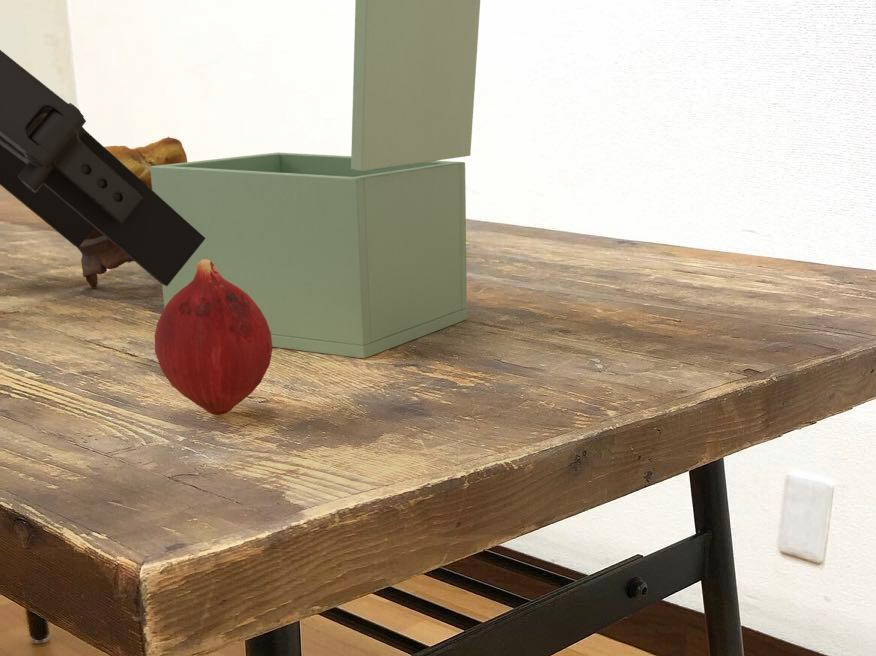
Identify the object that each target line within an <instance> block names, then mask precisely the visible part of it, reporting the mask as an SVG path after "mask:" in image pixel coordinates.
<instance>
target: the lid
mask: <svg viewBox="0 0 876 656" xmlns="http://www.w3.org/2000/svg"><path fill="white" fill-rule="evenodd" d="M354 3H355V6H354V37H353V38H354V42H353V44H354V45H353V78H352V79H353V80H352V81H353V82H352V119H351V152H350V154H351V155H350V156H351V169H352V170H356V171H368V170H374V169H381V168H388V167H395V166H402V165H409V164H416V163H423V162H430V161H445V160H449V159H451V160H452V159H456V158H457V159H458V158H464V157H470V156H471V154H472V153H471V151H472V136H473V135H472V134H473V123H474V122H473V120H474V106H475V105H474V103H475V91H476V73H477V71H476V70H477V60H478V44H479V28H480V27H479V26H480V13H481V0H355V2H354Z"/></svg>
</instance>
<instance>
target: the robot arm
mask: <svg viewBox="0 0 876 656" xmlns="http://www.w3.org/2000/svg"><path fill="white" fill-rule="evenodd" d="M86 122H87V119H86V118H85V116H84V115H83V113H82V112H81V110H80V109H79V108H78V107H77V106H76V105H74V104H73V103H72V102H69V103H68V102H66V100H64V99H63V98H61V97H60V96H59V95H58V94H57V93H56V92H54V91H53V90H52V89H50V87H47V86H46V85H45V84H44V83H43V82H42V81H40V80H39V79H38V78H37V77H36V76H34V75H33V74H31V72H29V71H27V69H25V68H24V67H23V66H21V65H20V64H19V63H18V62H17V61H15V60H13V58H12V57H10V56H9V55H8V54H6V53H5V52H4V51H2V50H1V49H0V186H1V187H2V188H3V189H4V190H6V191H7V192H8V193H9V194H11V195H12V197H14V198H15V199H16V200H18V201H19V202H20V203H21V204H22V205H24V206H25V207H27V209H29V210H30V211H31V212H32V213H34V215H36V216H37V217H38V218H39V219H41V220H42V221H43V222H45V223H46V224H47V225H48V226H50V227H51V228H52V229H53V230H54V231H56V232H57V233H58V234H59V235H60V236H61V237H63V238H64V239H65V240H66V241H68V243H71V245H72V246H74V247H76V248H77V247H79V246H80V245H81V244H82V243H83V241H84V240H85V239H86V238H87V236H88V235H89V234H90V233H91V232H92V230H93V229H94V228H96V229H97V230H98V231H99V232H100V233H102V234H103V235H104V236H105V237H106V238H108V239H109V240H110V241H111V242H112V243H113V244H115V245H116V246H117V247H118V248H119V249H121V250H122V251H123V252H124V253H125V254H127V255H128V256H129V257H130V258H131V259H132V260H134V261H135V263H136V264H137V265H138V266H139V267H140V268H142V269H143V270H144V271H145V272H146V273H148V274H149V275H150V276H151V277H153V278H154V279H155V280H156V281H157V282H159V284H161V285H162V284H163V285H165V286H168V285H169V283H170V282H171V281H172V280H173V278H174V277H175V276H176V275H177V273H178V272H179V271H180V270H181V268H182V267H183V266H184V265H185V263H186V262H187V261H188V260H189V259H190V257H191V256H192V255H193V254H194V252H195V251H196V250H197V249H198V247H199V246H200V245H201V244H202V242H203V241H204V240H205V239H206V238H205V237H204V236H202V235H201V234H200V233H199V232H198V231H197V230H196V229H195V228H194V227H192V226H191V225H190V224H189V223H188V222H187V221H186V220H185V219H184V218H182V217H181V216H180V215H179V214H178V213H177V212H176V211H175V210H174V209H172V208H171V207H170V206H169V205H168V204H167V203H166V202H165V201H164V200H162V199H161V198H160V197H159V196H158V195H157V194H156V193H155V192H154V191H152V190H151V189H150V188H149V187H148V186H147V185H146V184H145V183H144V182H142V181H141V180H140V179H139V178H138V177H137V176H136V175H135V174H134V173H132V172H131V171H130V170H129V169H128V168H127V167H126V166H125V165H124V164H122V163H121V162H120V161H119V160H118V159H117V158H116V157H115V156H114V155H112V154H111V153H110V152H109V151H108V150H107V149H106V148H105V147H106V146H103V145H102V143H100V142H99V141H98V140H97V139H96V138H95V137H93V135H91V133H89V132H88V131H87V130H86V129H85V128H84V127H83V126H84V125H85V124H86ZM134 261H133V262H134Z"/></svg>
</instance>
